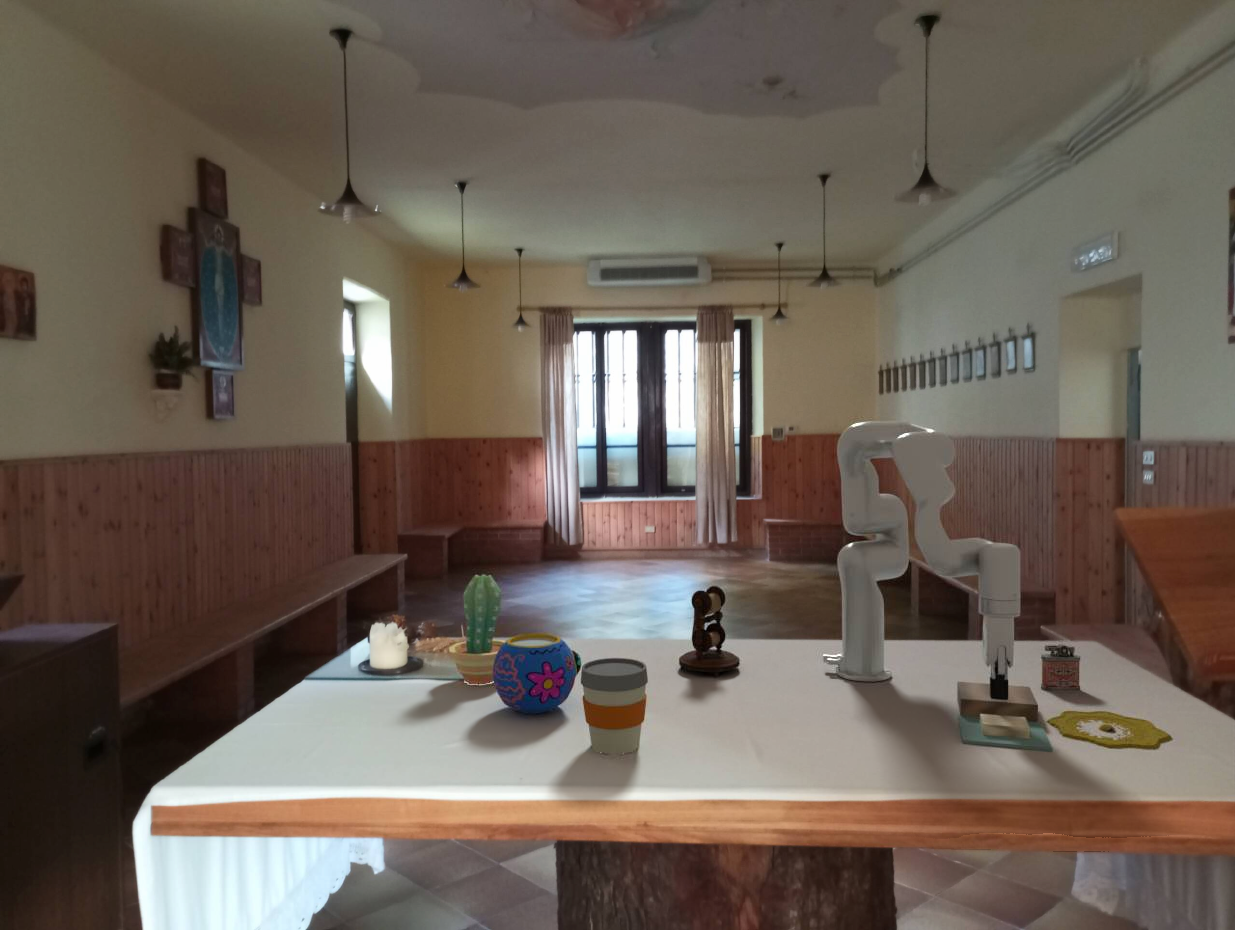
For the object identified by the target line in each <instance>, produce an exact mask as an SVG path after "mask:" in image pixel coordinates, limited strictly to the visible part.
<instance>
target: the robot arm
mask: <svg viewBox="0 0 1235 930" xmlns="http://www.w3.org/2000/svg"><path fill="white" fill-rule="evenodd" d="M836 452H837V453H836V455H837V463H838V467H839V472H840V480H841V482H840V483H841V485H840V488H841V514H842V516H841V517H842V522H843V523H842V524H843V527H844V529H845V530H846V532H847V533H848V534H850V535H853V536H872V535H873V536H874V535H875V539H873V540H871V539H870V540H862V541H861V540H860V541H855V542H854V541H853V542H850V543H848V544H845V545H844V546H843V547H842V548H841V549H840V551H839V552H838V554H837V559H836V561H837V562H836V564H837V570H838V575H839V581H840V586H841V587H840V588H841V619H842V620H841V625H842V626H841V632H842V633H841V634H842V636H841V637H842V639H841V640H842V641H841V642H842V645H841V646H842V648H841V649H842V650H841V652H840V653H837V654H836V655H833V654H825V653H824V654H823V657H822V660H823V663H827V665H831V666H832V665H833V666H834V665H837V666H836V667H835V674H836V675H837V676H838V677H840V678H843V679H846V680H850V681H856V682H867V683H869V682H882V681H886V680H888V679H890V678H891V677H892V671H891V669H890V668H888V667H886V666H885V603H884V597H883V596H884V595H883V594H882V592H881V590H880V588H879V586H878V583H877V582H879V581H884V580H891V579H896V578H899V577H901V576H902V575H904V574H905V572H906V571H907V569H908V566H909V561H910V543H909V542H910V539H909V517H908V511H907V509H906V506H905V504H904V503H903V501H902V500H901V498H899V497H898V496H896V495H894V494H891V493H880V489H879V488H880V487H879V485H880V484H879V483H880V481H879V475H878V473H877V470H876V467H875V466H874V465H873V462H871V459H872V460H873V459H889V458H891V459H892V461H894V464H895V466H896V467H897V469H898V471H899V473H900V475H901V477H902V479H903V480H904V482H905V485H906V487H907V489H908V491H909V493H910V494H911V496H912V498H913V500H914V503H915V506H916V510H915V514H914V522H913V523H914V526H913V527H914V529H913V530H914V538H915V541H916V543H917V546H918V547H919V550H920V551H921V553H922V556H923V557H924V560H925V562H926V563H927V565H928V566H929V568H930V569H931V570H932V572H934V573H935V574H936V575H937V576H939V577H942V578H944V579H952V578H953V579H954V578H960V577H961V578H962V577H968V576H976V575H977V576H978V614H979V615H982V616H983V620H982V623H983V624H982V647H981V648H982V649H981V652H982V653H981V654H982V659H983V661H984V665H986V667H988V668H989V667H990V676H989V684H990V697H991V699H998V700H1008V685H1009V678H1008V676H1009V669H1011V668H1012V667H1013V666H1014V653H1015V652H1014V651H1015V649H1014V648H1015V647H1014V645H1015V621H1014V619H1015V618H1017V617H1020V616H1021V550H1020V548H1019V547H1018V546H1017V545H1015V544H1011V543H1006V542H993V541H991V540H988V539H984V538H981V537H968V538H957V539H956V538H955V539H950V538H949V537H948V535H947V533H946V530H945V529H944V527H943V524H942V522H941V515H940V513H941V509H942V507H943V506H944V505H945V504H947V503H948V502H949V501H950V500H952V498H954V495H955V494H956V487H955V484H954V483H953V481H952V480H951V478H950V477H949V475H948V473H947V471H946V468H948V467H949V466H951V465H952V463H953V462H954V460H955V457H956V447H955V445H954V442H953V441H952V440H951V438H950V437H949V436H948V435H947V434H946V433H944V432H941V431H939V430H935V429H933V428H929V427H926V426H921V425H919V424H916V423H911V422H908V421H901V420H897V421H896V420H895V421H893V420H892V421H890V420H888V421H886V420H885V421H882V420H881V421H879V420H878V421H874V420H873V421H871V420H870V421H863V422H857V423H854V424H852V425H849V426H848V427H846V428H845V429H844V430H843V432H842V433H841V435H840V437H839V438H838V442H837V447H836Z"/></svg>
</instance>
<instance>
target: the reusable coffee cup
mask: <svg viewBox="0 0 1235 930" xmlns="http://www.w3.org/2000/svg"><path fill="white" fill-rule="evenodd" d="M580 676H581V677H580V684H581V686H582V691H583V696H582V697H581V698H582V705H583V711H584V712H583V713H584V717H585V719H584V720H585V722H586V724H587V725H588V730H589V731H588V732H589V736H590V737H589V739H590V744H591V748H593V749H594V750H595V751H594V750H593V749H592V750H593V751H594V752H596V751H598V752H601V753H605V754H604V755H606V754H622V755H624V754H623V753H628V752H631V753H633V752H632V751H634V750H636V749H637V748H638V747H639V748H640V742H641V734H642V733H641V731H642V724H643V723H644V722H645V716H646V715H645V714H646V705H647V697H648V696H647V694H646V685H647V684H648V683H649V679H648V678H649V677H648V670H647V665H646V663H644V662H643V661H641V660H637V659H632V658H625V657H610V658H608V657H607V658H599V659H594V660H591V661H588V662H585V663H584V664H583V665H581V673H580ZM639 748H638V749H639ZM638 749H637V750H638ZM637 750H636V751H637ZM598 752H597V753H598ZM634 752H635V751H634ZM601 753H600V754H601ZM628 754H629V753H628Z"/></svg>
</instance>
